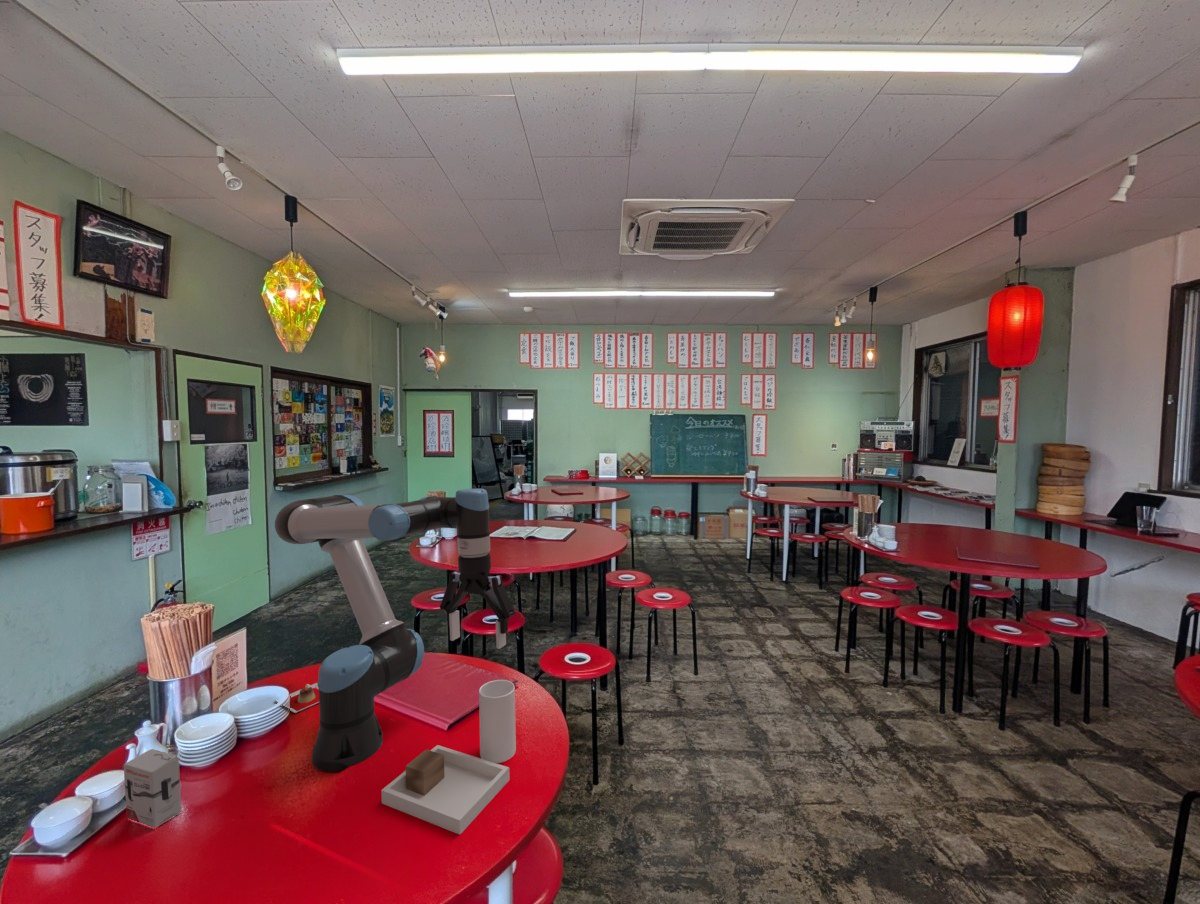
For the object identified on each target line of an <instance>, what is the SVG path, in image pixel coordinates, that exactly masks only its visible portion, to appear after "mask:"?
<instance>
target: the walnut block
mask: <svg viewBox="0 0 1200 904" xmlns="http://www.w3.org/2000/svg"><path fill="white" fill-rule="evenodd" d="M405 771H406V789H407V790H410V791H413V792H415V793H418V794H421V795H423V796H425V795H426V794H427V793H428V792H429V791H430V790H431V789H432V788H434V787H435V786H436V785H437V784H438V783H439V782H440V781H441V780H442V779H443V778H444V755H442V754H439V753H436V752H433V751H430V749H425V750H424V751H422V752H421V753H420V754H419V755H417V756H416V757H415V758H414V759H413V760H411V761H410V762H409V763H407V764H406V765H405Z"/></svg>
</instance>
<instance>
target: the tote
mask: <svg viewBox="0 0 1200 904" xmlns="http://www.w3.org/2000/svg"><path fill="white" fill-rule="evenodd" d="M429 750H430V749H429ZM430 751H433V752H436V753H439V754H442V755H444V778H443V779H442V780H441V781H440V782H439V783H438V784H437V785H436V786H435V787H434V788H432V789H431V790H430V791H429V792H428V793H427V794H426V795H425V796H423V795H421V794H418V793H415V792H413V791H410V790H407V789H406V770H404V771H403V772H402V773H401V774H399V776H396V778H394V780H392V781H391V782H390V783H388V784H387V785H386V786H384V788H382V789H381V804H383V805H384V806H387V807H389V808H392V809H395V810H398V811H400V812H402V813H405V814H407V815H410V816H412V817H414V818H417V819H420V820H422V821H425V822H428V823H429V824H432V825H435V826H437V827H440V828H443V829H445V830H447V831H450V832H452V833H455V834H456V835H457V834H458V835H461V834H462V833H464V831H465V830H466V829H467V828H468V827H469V825H470V824H472V822H473V821H474V820H475V819H476V818H477V816H478V815H479V814H481V813H482V811H483V810H484V809H485V808H486V806H488V805H489V803H490V802H491V801H492V800H493V799H494V798H495V796H496V795H498V793H499V792H500V791H502V789H503V788H504V787H505V786H506V785H507V784H508V782H509V781H510V767H509V766H506V765H502V764H500V763H493V762H490V761H487V760H484V759H482V758H481V757H477V756H474V755H471V754H467V753H464V752H461V751H457V750H454V749H451V748H448V747H445V746H442V745H438V744H436V746H434V747H433V748H431V750H430Z"/></svg>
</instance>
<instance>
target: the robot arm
mask: <svg viewBox="0 0 1200 904" xmlns="http://www.w3.org/2000/svg"><path fill="white" fill-rule="evenodd" d="M488 496H489V495H488V491H487V490H486V489H484V488H480V487H479V488H462V489H459V490H458V489H457V491H455V496H454V497H451V496H450V497H448V496H437V495H432V496H424V497H421V498H420V499H417V500H414V501H413V500H412V501H406V502H399V503H386V504H385V503H384V504H371V505H370V504H369V505H368V504H366V505H365V504H364V503H363V501H361V500H360V498H358V497H357V496H354V495H351V494H333V495H330V496H329V495H328V496H321V497H314V498H308V499H305V498H304V499H299V500H296V501H292V502H290V503H288V504H286V505H285V506H284V507H283V508H281V509H280V510H279V512H278V513H277V514H276V517H275V520H274V529H275V533H276V534H277V535H278V537H279V538H280V539H281V540H282V541H284V542H286V543H288V544H293V545H307V544H310V543H311V544H312V543H318V544H319V547H320V550H321V551H322V552H324V553H328V554H329V555H330V557H331V560H332V562H333V566H334V567H335V570H336V572H337V574H338V577H339V580H340V582H341V585H342V587H343V590H344V593H345V594H346V597H347V600H348V602H349V604H350V607H351V609H352V610H351V611H352V612H353V614H354V617H355V619H356V623H357V624H358V627H359V630H360V632H361V636H362V637H361V639H360V641H359V644H357V645H351V646H349V647H343V648H341V649H339V650H336V651H334V652H333V653H331V654H329V655H328V656H327V657H326V658H325V659H324V660H323V661H322V663H321V664H320V666H319V669H318V678H317V683H318V688H319V689H318V702H319V703H318V704H319V707H318V708H319V712H318V713H319V728H318V731H317V735H316V738H315V739H316V740H315V743H314V745H313V747H312V752H311V761H312V766H313V767H314V768H315V769H317V770H319V771H322V772H328V773H329V772H341V771H346V769H348V768H349V767H351V766H355V765H357V764H360V763H362V762H364V761H365V760H368V759H369V758H370V757H372V756H374V754H376V753H377V752H378V751H379V750H380V749H381V748H382V745H383V743H384V737H383V736H384V735H383V730H382V727H381V725H380V723H379V720H378V718H377V716H376V714H375V697H376V696H377V695H379V694H381V693H383V692H384V691H386V690H388V689H390V688H392V687H393V686H396V685H397V684H399V683H401V682H402V681H404V680H406V679H408V678H409V677H410V676H412V675H413V674H415V673H416V672H417V671H418V670H420V667H421V666H422V664H423V660H424V659H425V646H424V642H423V639H422V637H421V636H420V634H419V633H418V632H416V631H415V630H414V629H413V628H412V629H411V628H407V627H406V625H405V622H404V621H401V620H398V619H396V617H395V615H394V611H393V610H392V608H391V605H390V603H389V600H388V598H387V595H386V593H385V591H384V589H383V586H382V584H381V581H380V579H379V576H378V574H377V571H376V569H375V566H374V565H373V562H372V560H371V557H370V555H369V553H368V550H367V547H366V546H365V542H364V541H363V540H364V539H368V538H369V539H370V538H372V539H373V538H375V539H376V540H378V541H382V542H386V541H395V540H398V539H400V538H403V537H407V536H412V535H416V534H421V533H425V532H429V531H434V530H438V529H456V534H457V535H456V537H457V540H456V541H457V554H459V556H458V557H457V565H458V567H457V568H458V570H456V571H453V572H451V573H449V574H448V583H447V587H446V589H445V591H444V594H443V597H442V599H441V602H440V605H439V608H440V610H441V611H442V610H444V611H445V613H446V617H447V618H446V619H447V625H448V627H449V641H452V642H454V641H455V640H457V639H459V638H460V637H461V626H460V621H461V620H460V610H457V609H459V608H458V607H459V606H460V604H461V602H463V600H464V598H465V597H466V596H467V594H474V595H478V596H479V595H480V596H481V597H482V598H483V599H484V600H485V601H486V602H487V604H488V606H489V607H490V609H491V610H492V611H493V613H494V615H495V616H496V618H497V619H496V620H495V643H496V646H495V647H496V649H498V650H500V649H501V648H503V647H504V646H506V645H507V635H506V633H508V631H509V621H508V620H509V619H510V618H512V617H513V616H515V614H516V611H515V609H514V607H513V604H512V602H511V600H510V597H509V595H508V593H507V590H506V588H505V586H504V583H503V576H502V575H500V574H499V575H496V576H492V575H491V573H490V572H491V568H492V559H491V553H490V552H491V536H490V535H491V534H490V503H489V497H488ZM459 582H460V583H461V585H460V587H459V588H458V586H459ZM457 589H458V590H457ZM456 591H457V592H456ZM455 594H456V595H455Z"/></svg>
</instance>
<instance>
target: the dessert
mask: <svg viewBox="0 0 1200 904" xmlns="http://www.w3.org/2000/svg"><path fill="white" fill-rule="evenodd" d="M314 689H317V690H319V688H318V682H315V683H313V684H309V683H306V684H305V687H304V688H301V689H299V690H296V691H294V692H291V693H289V694H290V696H291V698H293V697H296V696H297V695H298V697H297V698H298V699H297V703H298V704H306V703H309V702H311V701H313V700H315V699H316V694H315V692H314ZM317 704H319V701H318V702H315V703H313V704H311V705H308V706H306V707H303V708H301V709H299V710H296V709H294V708H292V707H291V708H290V710H289V711H291V712H292V713H295V714H297V713H299V712H302V711H304V710H306V709H308V708H311V707H313V706H315V705H317Z"/></svg>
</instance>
